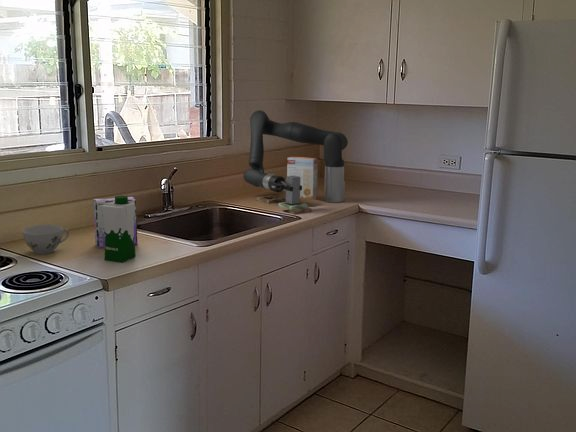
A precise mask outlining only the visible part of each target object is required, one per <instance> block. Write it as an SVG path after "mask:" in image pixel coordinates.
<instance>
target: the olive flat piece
mask: <svg viewBox="0 0 576 432" xmlns="http://www.w3.org/2000/svg"><path fill="white" fill-rule="evenodd" d="M255 201H257V202H260V203H263V204H266V205H267V204H268V205H271V206H275V207H278V208H281V209H284V210H281V212H284V213H288V214H291V215H299V214H305V213H311V212H313V211H312V207H309V204H308V203H304V202H300V203H298V204H289V203H286V197H281V196H277V195H266V196H265V195H264V196H257V197H256V199H255Z"/></svg>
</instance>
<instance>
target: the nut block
mask: <svg viewBox="0 0 576 432" xmlns="http://www.w3.org/2000/svg"><path fill="white" fill-rule="evenodd" d="M285 180H286V185H289V186H293V191H285V202H286V203H289V204H298V203H300V201H301V198H300V177H299V176H287V175H286V178H285Z"/></svg>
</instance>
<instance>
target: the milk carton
mask: <svg viewBox="0 0 576 432" xmlns="http://www.w3.org/2000/svg"><path fill="white" fill-rule="evenodd" d="M128 197H129V196H127V195H117V196H114V198H115V202H111V203H107V204H105V205H102V206H100V207H101V210H102V214H103V218H104V234H105V247H104V259H103V260H104V261H107V262H117V263H125V262H127V261H129V260H132V259H134V258H136V248H135V246H136V245H135V244H134V220H133V216H134V206H135V203H129V202H128Z"/></svg>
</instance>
